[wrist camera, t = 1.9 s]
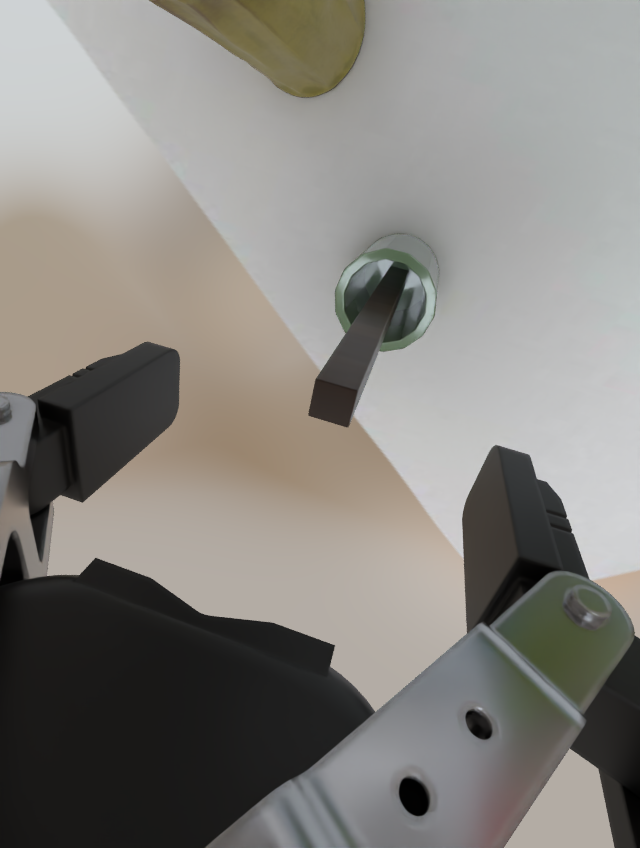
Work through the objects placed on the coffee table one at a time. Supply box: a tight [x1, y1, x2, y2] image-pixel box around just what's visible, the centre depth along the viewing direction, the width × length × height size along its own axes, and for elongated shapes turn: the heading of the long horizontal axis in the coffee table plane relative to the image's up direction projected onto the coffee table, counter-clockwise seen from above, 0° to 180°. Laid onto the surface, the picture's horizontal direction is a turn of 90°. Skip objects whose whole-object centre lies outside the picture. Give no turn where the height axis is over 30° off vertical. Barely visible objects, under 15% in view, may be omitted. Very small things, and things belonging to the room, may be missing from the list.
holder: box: [335, 234, 439, 352], centre depth 25 cm, size 5×5×7 cm
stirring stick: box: [309, 266, 409, 427], centre depth 20 cm, size 1×1×18 cm
